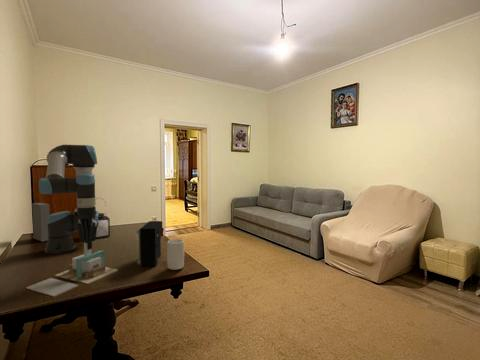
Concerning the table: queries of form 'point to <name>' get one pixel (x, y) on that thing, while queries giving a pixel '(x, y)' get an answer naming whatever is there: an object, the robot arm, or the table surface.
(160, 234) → the electrical component
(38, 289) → the mat
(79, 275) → the teal arch
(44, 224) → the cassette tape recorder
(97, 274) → the clamp base
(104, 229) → the lantern
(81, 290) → the table surface
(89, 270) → the white brown box
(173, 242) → the white can
